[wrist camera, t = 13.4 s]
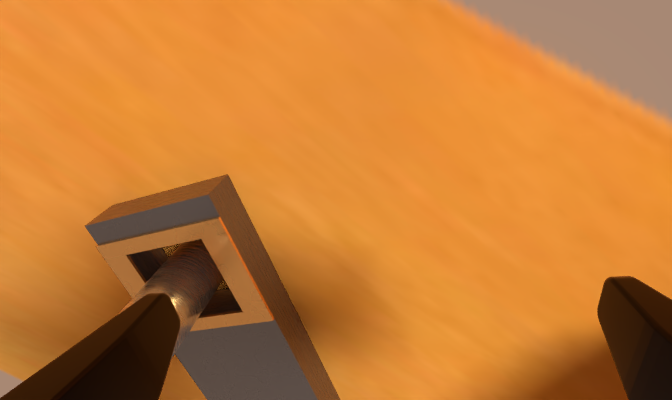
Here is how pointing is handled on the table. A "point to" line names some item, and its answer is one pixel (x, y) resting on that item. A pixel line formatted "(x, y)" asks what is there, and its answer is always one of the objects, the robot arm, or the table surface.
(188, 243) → the peg
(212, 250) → the rail
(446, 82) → the table surface
